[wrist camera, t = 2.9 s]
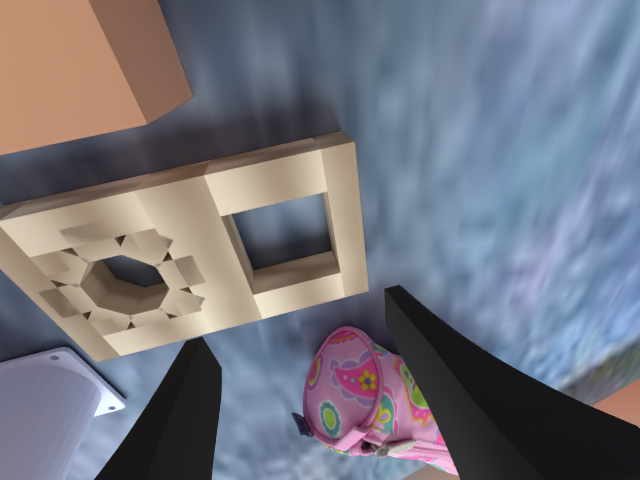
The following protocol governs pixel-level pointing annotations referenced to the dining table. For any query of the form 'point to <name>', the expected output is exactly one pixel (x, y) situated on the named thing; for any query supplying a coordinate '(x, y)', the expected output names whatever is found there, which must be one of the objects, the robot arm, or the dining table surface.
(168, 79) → the peg
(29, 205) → the socket plate
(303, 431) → the pencil case
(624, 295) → the dining table surface
